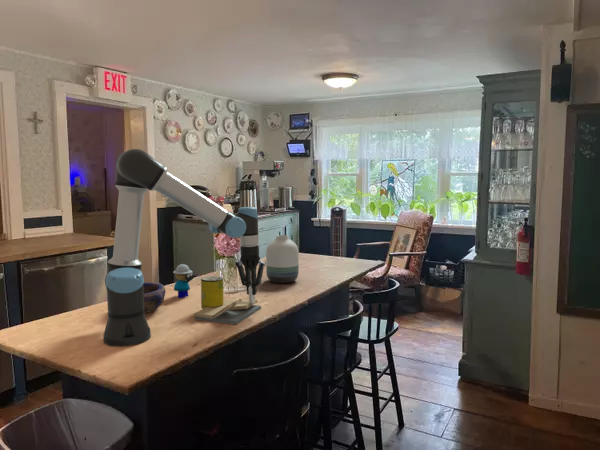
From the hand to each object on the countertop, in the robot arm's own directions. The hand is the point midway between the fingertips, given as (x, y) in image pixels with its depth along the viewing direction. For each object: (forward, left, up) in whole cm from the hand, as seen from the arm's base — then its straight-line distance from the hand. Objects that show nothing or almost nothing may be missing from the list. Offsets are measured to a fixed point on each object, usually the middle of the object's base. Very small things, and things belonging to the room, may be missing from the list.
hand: (252, 302), depth 189 cm
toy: (+10, +40, -4) cm, 41 cm away
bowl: (-14, +42, -4) cm, 45 cm away
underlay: (-6, +7, -4) cm, 10 cm away
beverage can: (-4, +16, -3) cm, 17 cm away
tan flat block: (-12, +4, 0) cm, 13 cm away
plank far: (0, +4, -2) cm, 4 cm away
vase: (+54, +8, -4) cm, 55 cm away
